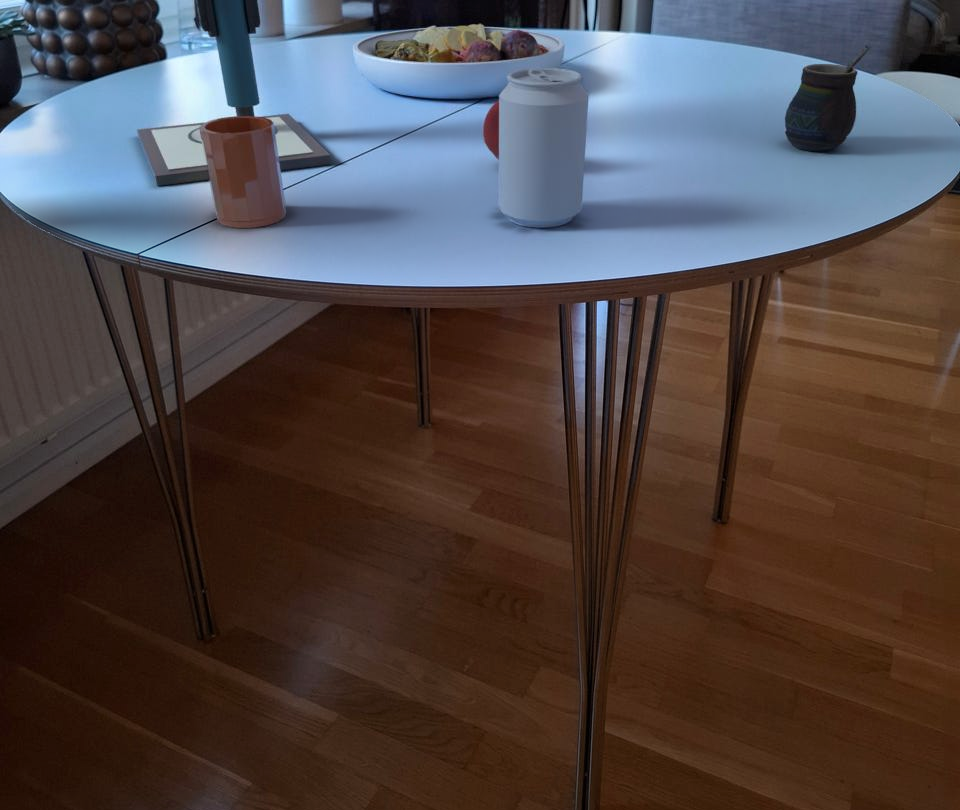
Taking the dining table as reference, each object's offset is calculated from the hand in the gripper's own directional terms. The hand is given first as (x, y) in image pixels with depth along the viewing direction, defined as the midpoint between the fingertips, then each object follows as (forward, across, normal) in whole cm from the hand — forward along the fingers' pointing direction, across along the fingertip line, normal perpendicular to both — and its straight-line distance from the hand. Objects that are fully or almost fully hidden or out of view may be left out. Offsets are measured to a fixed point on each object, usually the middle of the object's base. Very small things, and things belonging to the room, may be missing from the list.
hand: (231, 33), depth 94 cm
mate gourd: (+11, -57, +30) cm, 66 cm away
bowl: (+11, -34, -19) cm, 41 cm away
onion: (+11, -23, +23) cm, 35 cm away
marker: (+9, 0, 0) cm, 9 cm away
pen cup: (+11, +5, +27) cm, 30 cm away
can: (+11, -19, +38) cm, 44 cm away
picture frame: (+11, +3, +4) cm, 12 cm away
